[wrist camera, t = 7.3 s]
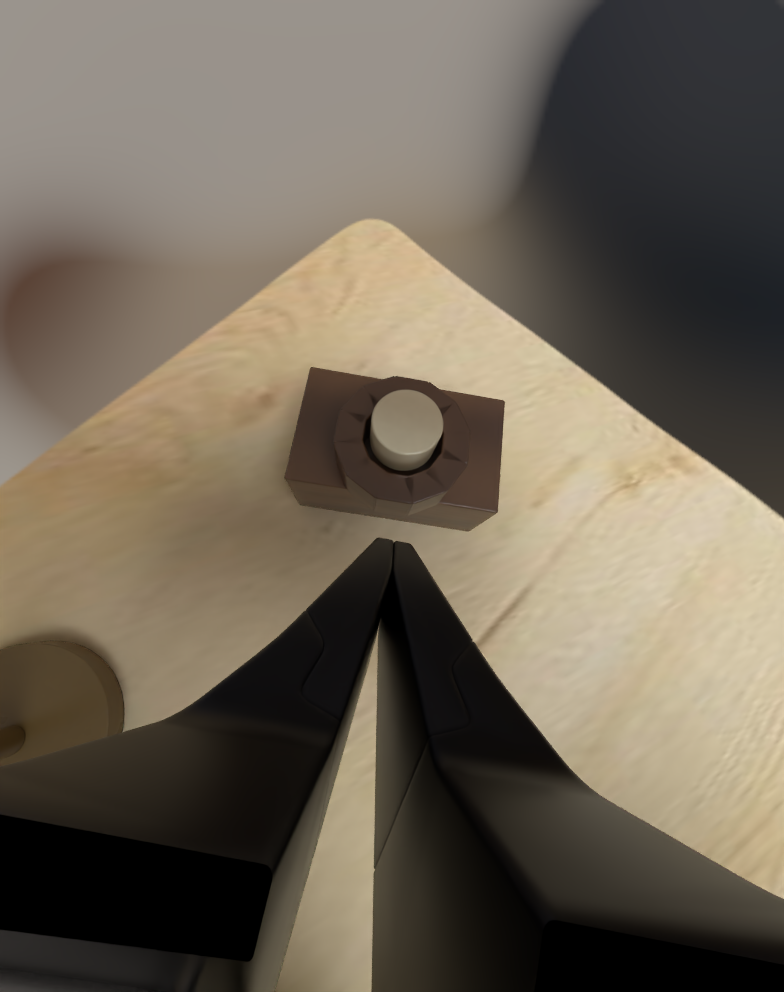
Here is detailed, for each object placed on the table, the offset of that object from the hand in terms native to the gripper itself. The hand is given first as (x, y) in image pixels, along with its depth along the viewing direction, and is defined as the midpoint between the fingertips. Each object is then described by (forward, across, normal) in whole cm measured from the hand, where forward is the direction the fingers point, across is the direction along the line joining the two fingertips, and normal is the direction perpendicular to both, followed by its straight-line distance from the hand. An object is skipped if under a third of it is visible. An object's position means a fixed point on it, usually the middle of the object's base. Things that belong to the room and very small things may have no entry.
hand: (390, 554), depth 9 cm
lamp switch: (+8, 0, 0) cm, 8 cm away
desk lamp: (+2, +14, +15) cm, 21 cm away
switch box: (+13, 0, +4) cm, 14 cm away
